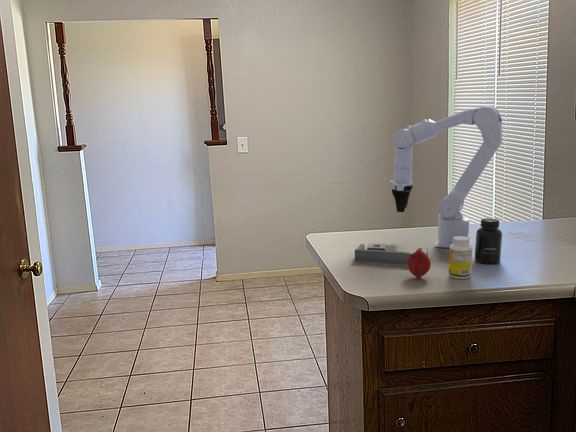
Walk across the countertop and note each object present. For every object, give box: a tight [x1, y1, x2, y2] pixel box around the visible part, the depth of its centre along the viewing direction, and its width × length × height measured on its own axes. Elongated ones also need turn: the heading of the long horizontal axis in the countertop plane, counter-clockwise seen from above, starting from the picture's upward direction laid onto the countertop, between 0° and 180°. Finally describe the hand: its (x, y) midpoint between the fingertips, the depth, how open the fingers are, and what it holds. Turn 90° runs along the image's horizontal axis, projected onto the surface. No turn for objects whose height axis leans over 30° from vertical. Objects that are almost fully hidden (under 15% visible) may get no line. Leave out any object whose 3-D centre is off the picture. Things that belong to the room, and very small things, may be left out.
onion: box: [407, 247, 432, 279], centre depth 144 cm, size 6×6×8 cm
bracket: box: [353, 243, 429, 267], centre depth 160 cm, size 20×10×4 cm, turn 72°
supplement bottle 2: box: [474, 217, 503, 265], centre depth 157 cm, size 7×7×12 cm
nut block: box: [366, 242, 387, 251], centre depth 162 cm, size 5×5×4 cm
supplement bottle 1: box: [448, 236, 473, 280], centre depth 144 cm, size 6×6×10 cm
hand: (401, 209), depth 180 cm, fingers open, 7 cm apart
